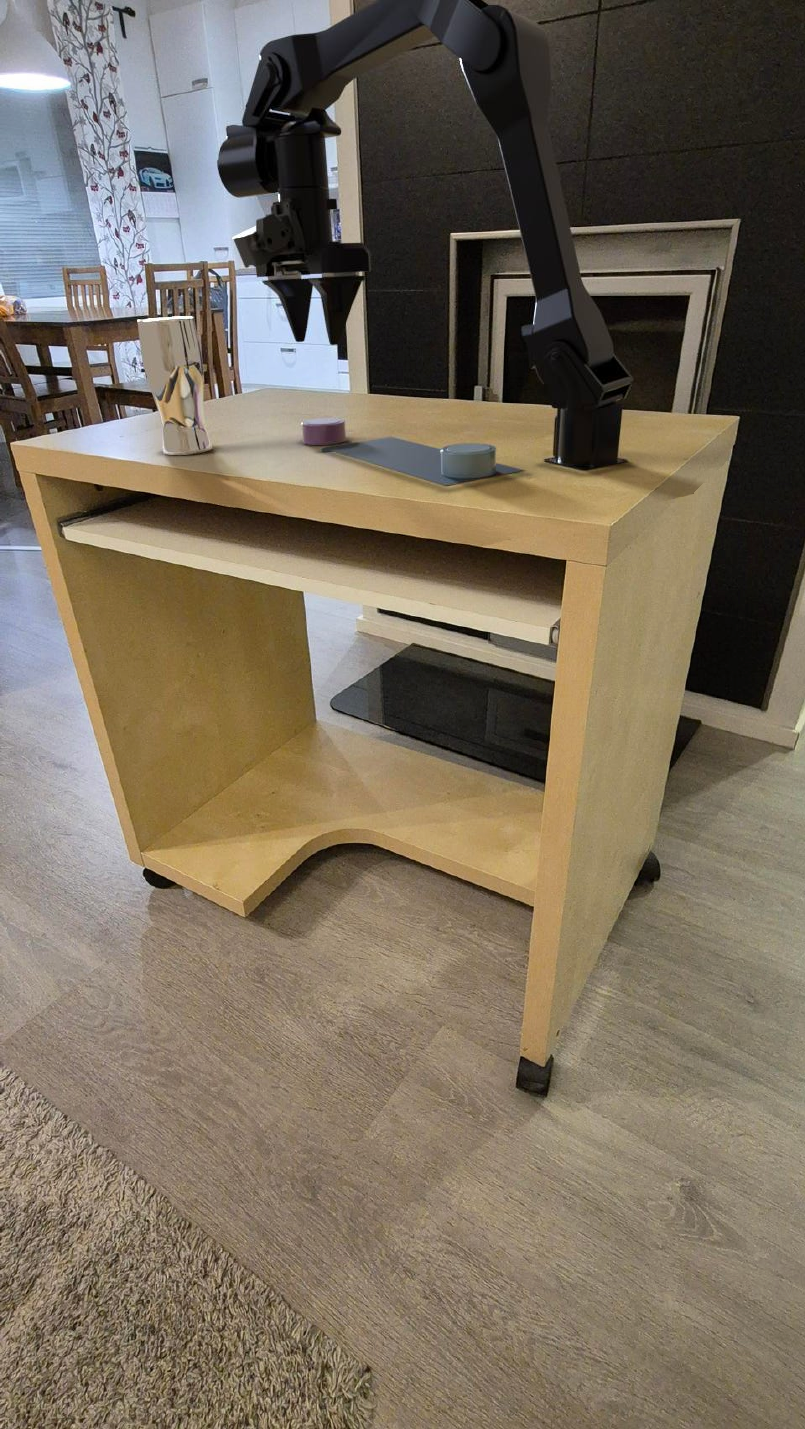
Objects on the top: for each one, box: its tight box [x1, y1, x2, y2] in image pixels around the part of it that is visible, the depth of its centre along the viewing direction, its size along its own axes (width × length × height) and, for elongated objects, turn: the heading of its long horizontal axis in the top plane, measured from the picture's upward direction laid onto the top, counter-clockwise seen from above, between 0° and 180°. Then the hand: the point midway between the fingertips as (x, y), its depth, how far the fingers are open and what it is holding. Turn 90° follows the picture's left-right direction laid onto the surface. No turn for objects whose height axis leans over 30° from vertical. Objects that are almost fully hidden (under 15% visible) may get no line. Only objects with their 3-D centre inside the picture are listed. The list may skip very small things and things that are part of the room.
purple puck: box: [301, 417, 347, 446], centre depth 100 cm, size 6×6×2 cm
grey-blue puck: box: [440, 442, 497, 479], centre depth 79 cm, size 6×6×2 cm
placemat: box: [321, 436, 525, 487], centre depth 87 cm, size 26×10×1 cm, turn 33°
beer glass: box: [137, 316, 213, 456], centre depth 94 cm, size 7×7×15 cm
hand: (316, 343), depth 94 cm, fingers open, 9 cm apart
